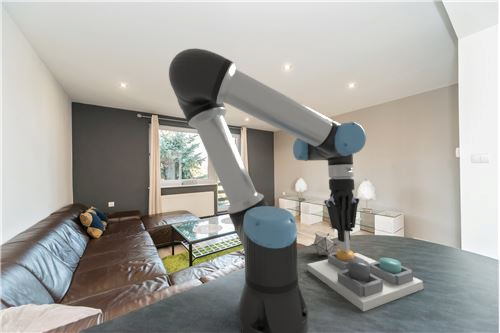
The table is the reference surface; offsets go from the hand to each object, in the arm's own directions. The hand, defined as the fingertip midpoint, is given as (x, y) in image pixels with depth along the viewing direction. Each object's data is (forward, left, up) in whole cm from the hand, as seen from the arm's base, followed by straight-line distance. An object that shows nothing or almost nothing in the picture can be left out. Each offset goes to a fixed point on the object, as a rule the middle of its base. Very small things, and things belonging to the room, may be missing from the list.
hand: (344, 250), depth 60 cm
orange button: (0, 0, -4) cm, 4 cm away
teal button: (+6, -10, -4) cm, 12 cm away
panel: (0, -5, -6) cm, 8 cm away
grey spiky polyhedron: (+2, +12, -7) cm, 14 cm away
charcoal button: (-6, -10, -2) cm, 12 cm away
